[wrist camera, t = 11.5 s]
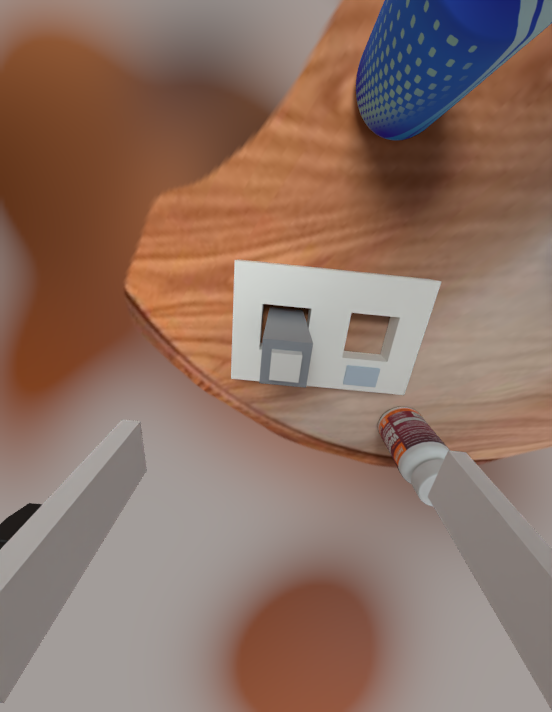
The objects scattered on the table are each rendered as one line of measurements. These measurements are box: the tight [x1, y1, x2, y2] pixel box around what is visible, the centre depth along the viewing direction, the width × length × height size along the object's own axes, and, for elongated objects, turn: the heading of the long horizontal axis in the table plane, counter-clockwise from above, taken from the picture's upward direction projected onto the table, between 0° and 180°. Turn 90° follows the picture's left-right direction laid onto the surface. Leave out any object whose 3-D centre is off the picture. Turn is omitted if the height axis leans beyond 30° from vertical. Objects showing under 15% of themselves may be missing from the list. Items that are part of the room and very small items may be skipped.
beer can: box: [356, 0, 552, 140], centre depth 16 cm, size 8×8×16 cm
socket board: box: [231, 259, 441, 395], centre depth 31 cm, size 14×22×3 cm, turn 85°
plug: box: [259, 307, 313, 387], centre depth 26 cm, size 4×4×13 cm
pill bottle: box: [378, 407, 450, 506], centre depth 32 cm, size 6×6×11 cm
